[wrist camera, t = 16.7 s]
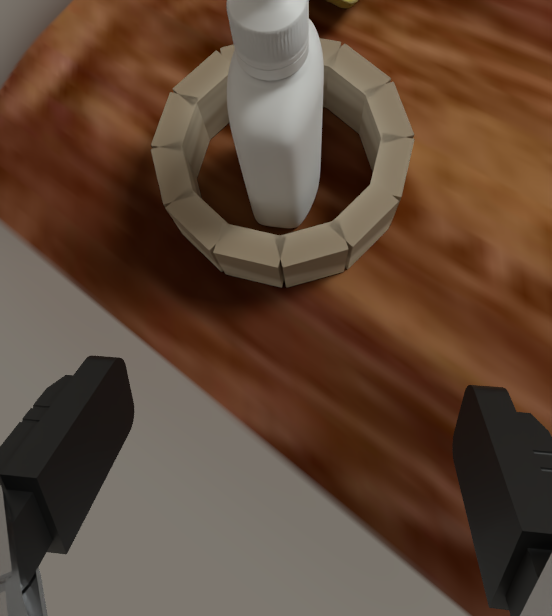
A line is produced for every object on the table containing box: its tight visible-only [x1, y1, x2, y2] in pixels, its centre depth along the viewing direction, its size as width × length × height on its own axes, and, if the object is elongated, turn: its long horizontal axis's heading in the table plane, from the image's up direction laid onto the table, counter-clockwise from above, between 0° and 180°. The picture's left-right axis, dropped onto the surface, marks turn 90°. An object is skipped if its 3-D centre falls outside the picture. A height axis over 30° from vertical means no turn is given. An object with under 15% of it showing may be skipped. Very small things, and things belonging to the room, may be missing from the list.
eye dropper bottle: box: [226, 0, 324, 228], centre depth 19 cm, size 4×6×12 cm
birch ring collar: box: [151, 38, 414, 288], centre depth 23 cm, size 11×11×3 cm
